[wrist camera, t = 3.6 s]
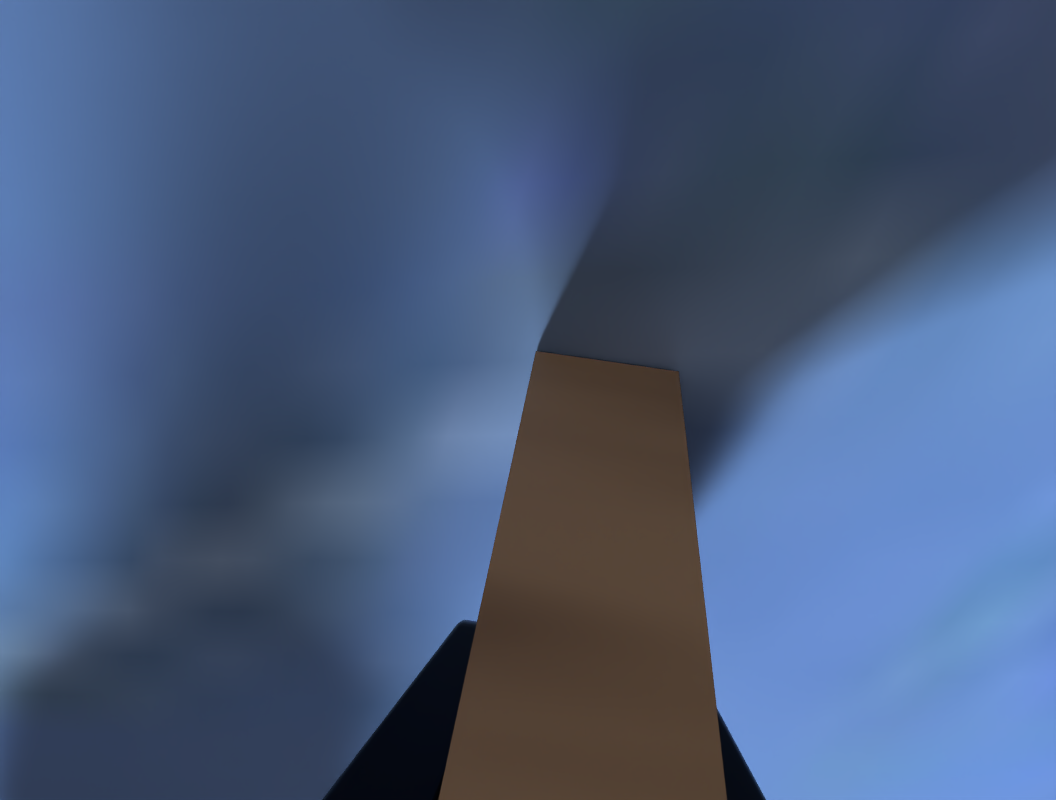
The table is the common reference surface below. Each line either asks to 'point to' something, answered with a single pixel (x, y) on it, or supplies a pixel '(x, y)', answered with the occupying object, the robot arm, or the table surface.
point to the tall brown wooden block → (592, 605)
